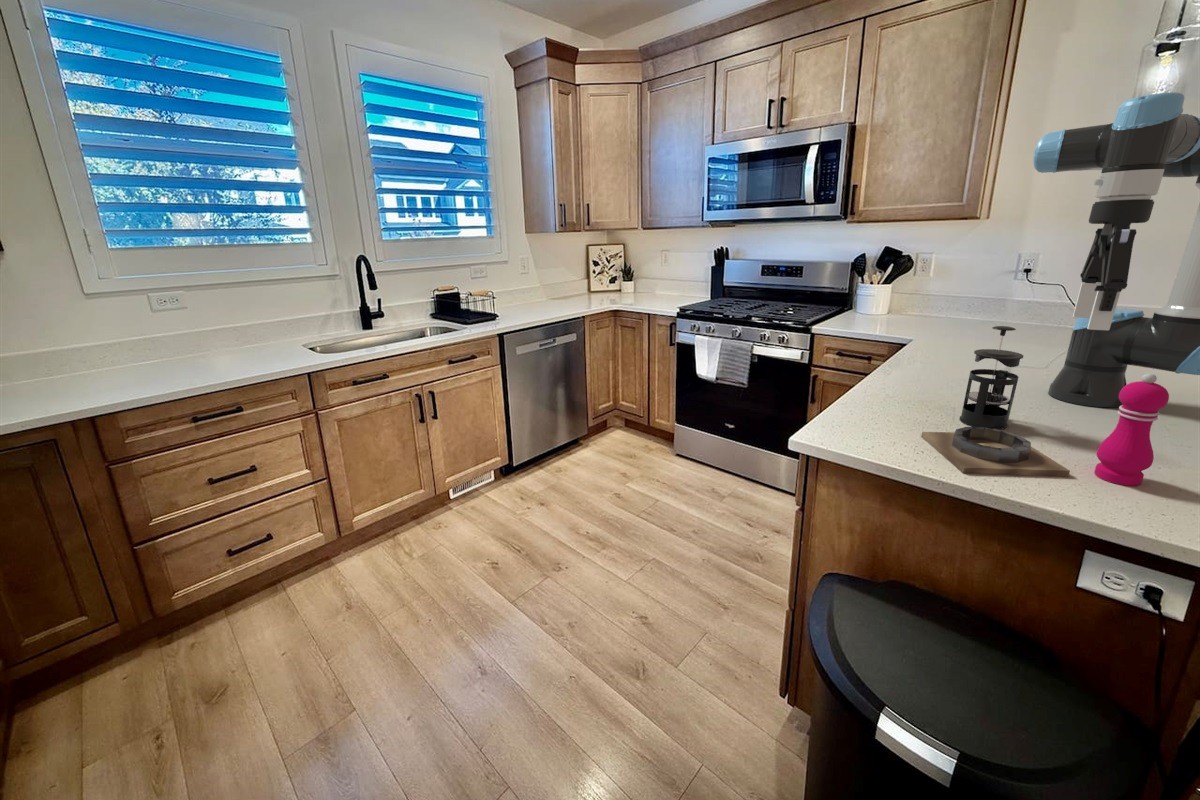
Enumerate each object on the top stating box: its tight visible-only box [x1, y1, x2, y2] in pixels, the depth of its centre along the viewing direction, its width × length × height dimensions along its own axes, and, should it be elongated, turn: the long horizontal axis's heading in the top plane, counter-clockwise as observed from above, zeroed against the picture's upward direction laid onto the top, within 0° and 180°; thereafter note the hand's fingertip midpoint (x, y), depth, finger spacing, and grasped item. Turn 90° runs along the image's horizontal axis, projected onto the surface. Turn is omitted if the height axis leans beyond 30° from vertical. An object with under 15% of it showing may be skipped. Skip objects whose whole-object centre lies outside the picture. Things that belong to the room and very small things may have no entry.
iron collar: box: [952, 426, 1032, 463], centre depth 104 cm, size 12×12×2 cm
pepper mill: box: [1093, 373, 1170, 487], centre depth 91 cm, size 7×7×20 cm
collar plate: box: [920, 431, 1071, 477], centre depth 105 cm, size 18×18×1 cm
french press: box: [958, 325, 1024, 430], centre depth 118 cm, size 12×9×23 cm
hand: (1089, 323), depth 94 cm, fingers open, 13 cm apart
